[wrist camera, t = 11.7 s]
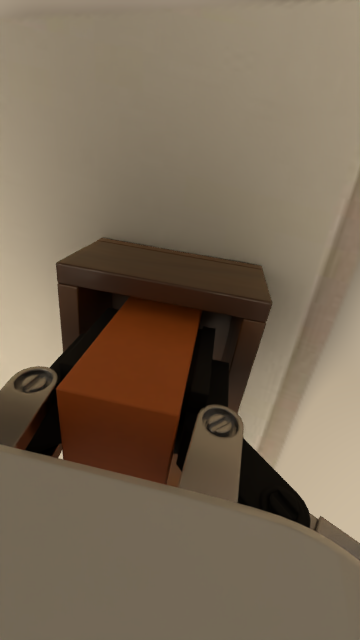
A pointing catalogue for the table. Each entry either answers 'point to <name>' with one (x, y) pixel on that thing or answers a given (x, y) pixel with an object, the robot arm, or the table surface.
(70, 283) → the holder
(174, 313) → the orange tall block
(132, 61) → the table surface
